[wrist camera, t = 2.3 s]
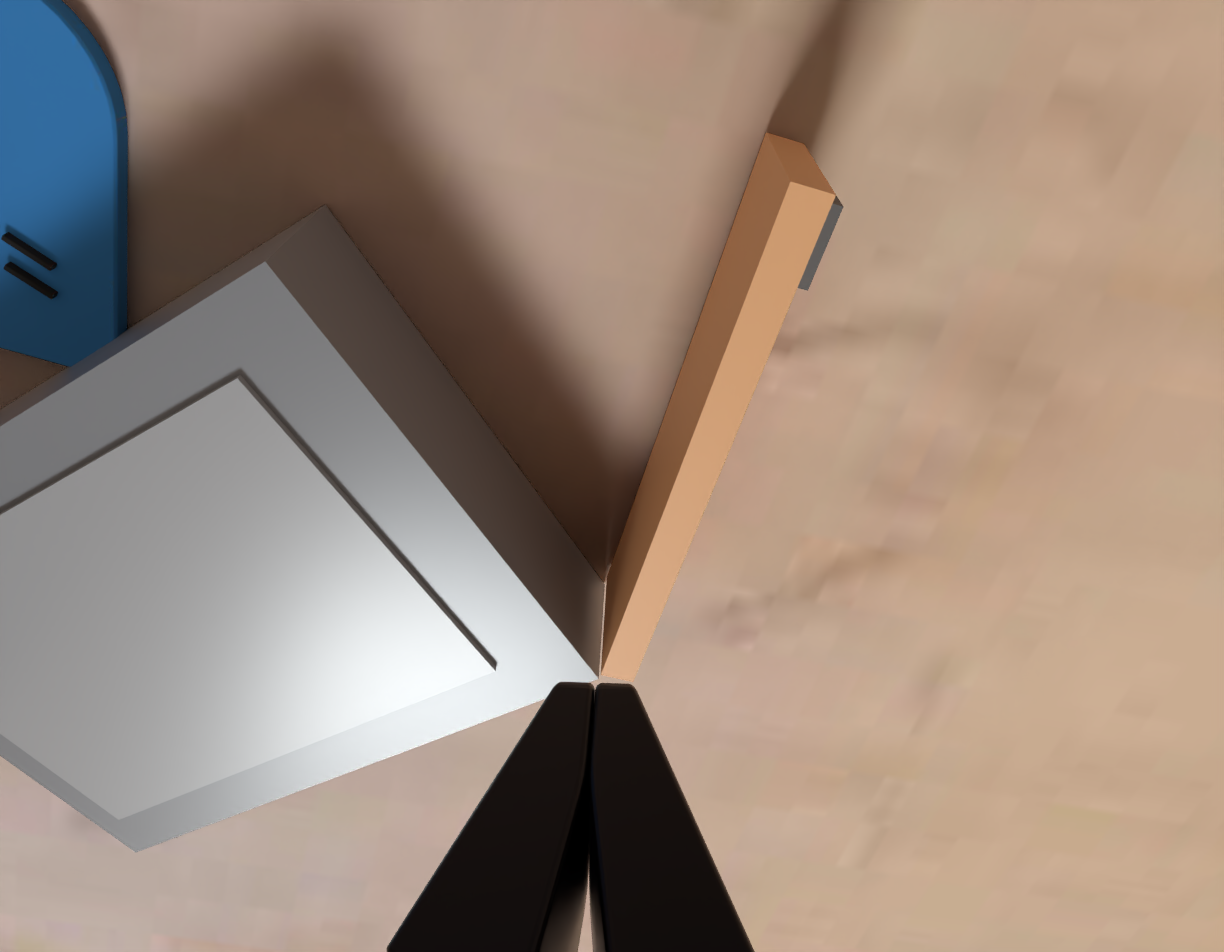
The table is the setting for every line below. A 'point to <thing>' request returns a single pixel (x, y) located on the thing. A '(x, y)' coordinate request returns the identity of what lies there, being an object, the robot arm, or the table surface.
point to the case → (266, 552)
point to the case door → (716, 386)
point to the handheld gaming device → (60, 186)
